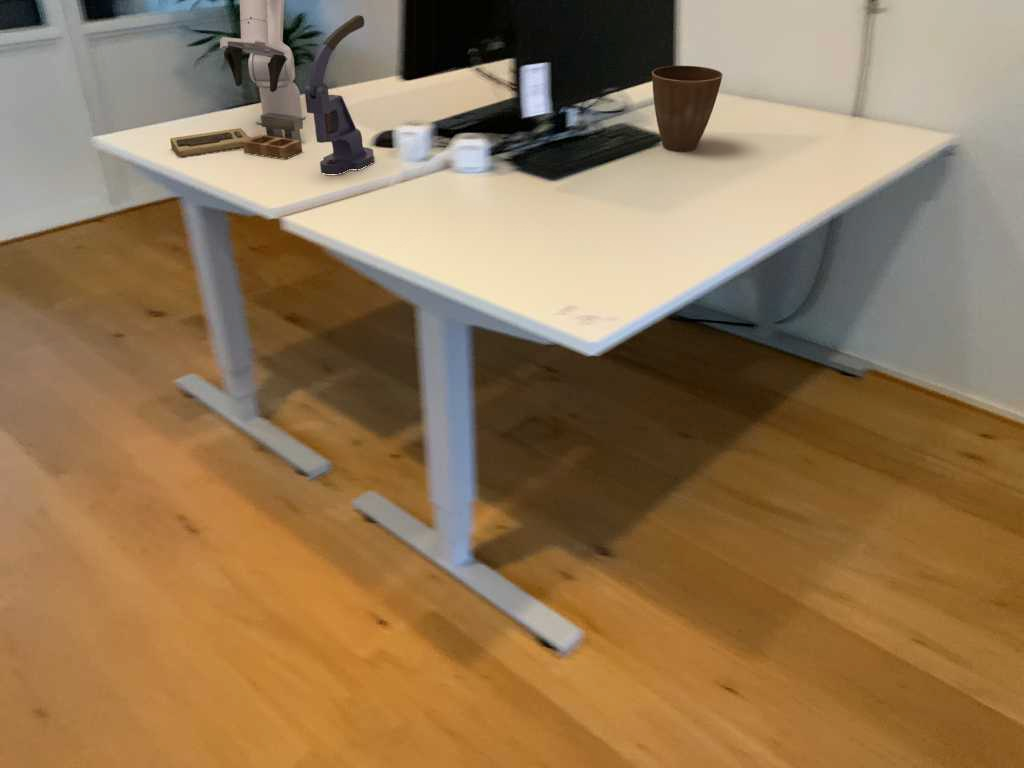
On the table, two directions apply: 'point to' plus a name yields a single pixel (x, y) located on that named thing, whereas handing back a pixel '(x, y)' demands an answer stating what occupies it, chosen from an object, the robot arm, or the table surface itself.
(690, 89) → the plant pot
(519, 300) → the table surface
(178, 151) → the beige retro keyboard
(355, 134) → the hand press
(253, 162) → the table surface
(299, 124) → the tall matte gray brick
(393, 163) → the table surface
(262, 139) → the rectangular frame with crossbar
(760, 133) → the table surface
